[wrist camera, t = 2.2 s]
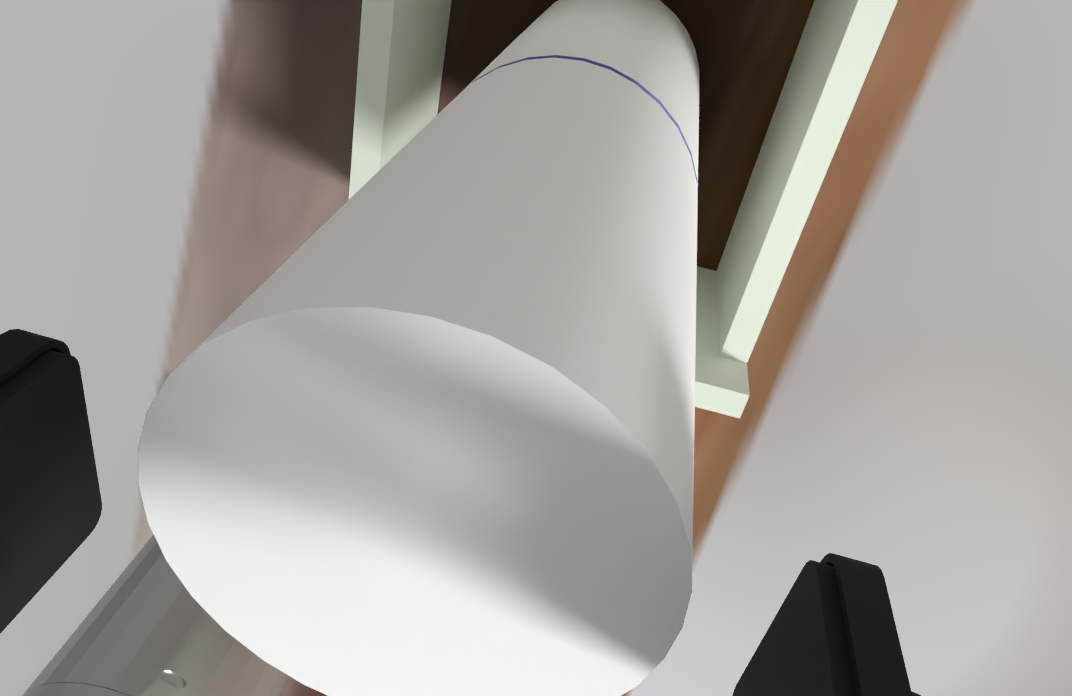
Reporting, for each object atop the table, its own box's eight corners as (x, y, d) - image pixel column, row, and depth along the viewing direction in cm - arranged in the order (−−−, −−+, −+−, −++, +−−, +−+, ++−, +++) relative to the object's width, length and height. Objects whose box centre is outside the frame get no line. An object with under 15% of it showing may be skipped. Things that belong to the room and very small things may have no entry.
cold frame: (731, 296, 35) (739, 418, 27) (402, 211, 35) (321, 307, 28) (877, -86, 27) (946, -64, 19) (446, -187, 27) (348, -204, 20)
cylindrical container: (723, 6, 29) (777, 399, 8) (672, 189, 33) (618, 780, 12) (532, -34, 29) (103, 238, 8) (504, 151, 33) (163, 656, 12)
